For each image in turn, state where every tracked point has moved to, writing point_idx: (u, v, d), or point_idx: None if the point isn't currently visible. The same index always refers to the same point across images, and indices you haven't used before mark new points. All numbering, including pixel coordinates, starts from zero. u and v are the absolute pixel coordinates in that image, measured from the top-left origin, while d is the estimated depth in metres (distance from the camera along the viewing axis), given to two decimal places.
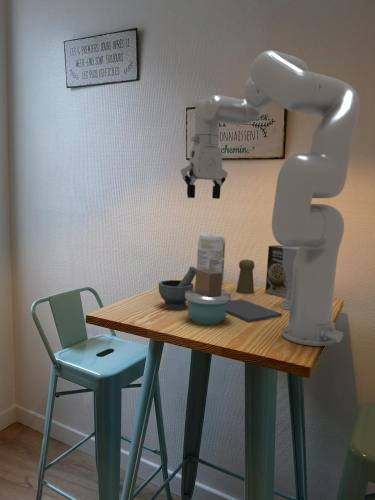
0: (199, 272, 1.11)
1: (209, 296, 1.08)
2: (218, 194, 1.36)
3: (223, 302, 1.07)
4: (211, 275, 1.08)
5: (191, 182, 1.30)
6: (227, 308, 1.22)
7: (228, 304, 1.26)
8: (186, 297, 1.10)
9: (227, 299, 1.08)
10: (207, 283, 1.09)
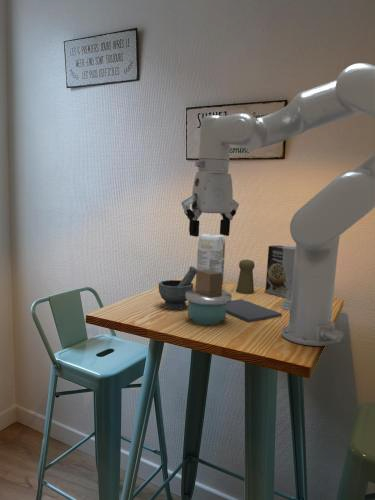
0: (199, 272, 1.11)
1: (209, 296, 1.08)
2: (227, 230, 1.11)
3: (224, 302, 1.07)
4: (211, 275, 1.08)
5: (194, 217, 1.05)
6: (227, 308, 1.22)
7: (228, 304, 1.26)
8: (186, 297, 1.10)
9: (228, 299, 1.08)
10: (207, 283, 1.08)
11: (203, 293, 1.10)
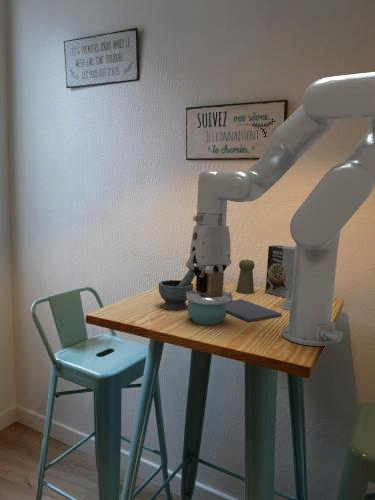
0: None
1: (210, 296, 1.08)
2: None
3: (225, 302, 1.07)
4: (212, 275, 1.07)
5: (201, 275, 1.08)
6: (227, 308, 1.22)
7: (228, 304, 1.26)
8: (187, 297, 1.09)
9: (229, 299, 1.08)
10: (208, 283, 1.08)
11: (204, 293, 1.10)
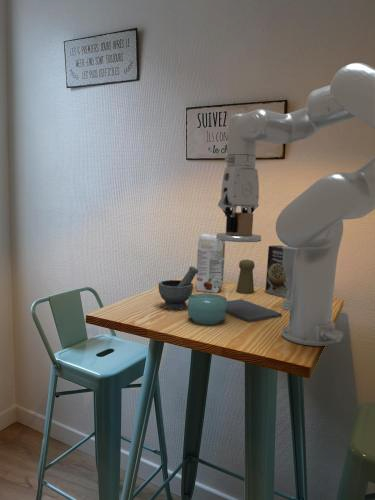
0: None
1: (241, 235, 1.12)
2: None
3: (255, 240, 1.12)
4: (243, 215, 1.12)
5: (232, 215, 1.13)
6: (227, 308, 1.22)
7: (228, 304, 1.26)
8: (219, 237, 1.14)
9: (259, 238, 1.13)
10: (239, 222, 1.13)
11: (234, 233, 1.14)
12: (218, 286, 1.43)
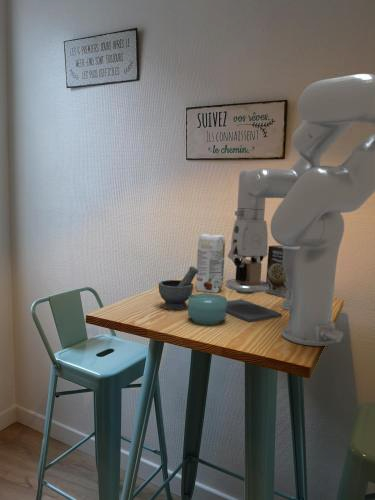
0: None
1: (250, 285, 1.18)
2: None
3: (263, 290, 1.17)
4: (252, 265, 1.17)
5: (241, 265, 1.18)
6: (227, 308, 1.22)
7: (228, 304, 1.26)
8: (228, 286, 1.19)
9: (266, 287, 1.18)
10: (247, 272, 1.18)
11: (243, 282, 1.20)
12: (218, 286, 1.43)
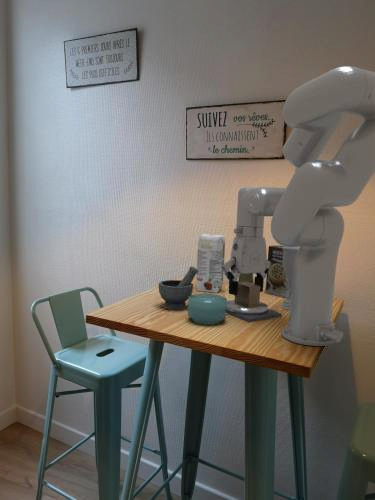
0: (239, 285, 1.21)
1: (249, 307, 1.19)
2: (261, 287, 1.23)
3: (262, 313, 1.18)
4: (251, 288, 1.18)
5: (234, 279, 1.17)
6: None
7: None
8: (227, 308, 1.20)
9: (265, 310, 1.19)
10: (246, 295, 1.19)
11: (242, 304, 1.21)
12: (218, 286, 1.43)
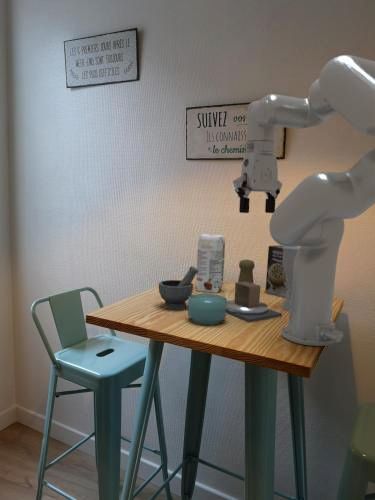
0: (239, 285, 1.21)
1: (249, 307, 1.19)
2: (273, 208, 1.20)
3: (262, 313, 1.18)
4: (251, 288, 1.18)
5: (245, 195, 1.14)
6: None
7: None
8: (227, 308, 1.20)
9: (265, 310, 1.19)
10: (246, 295, 1.19)
11: (242, 304, 1.21)
12: (218, 286, 1.43)
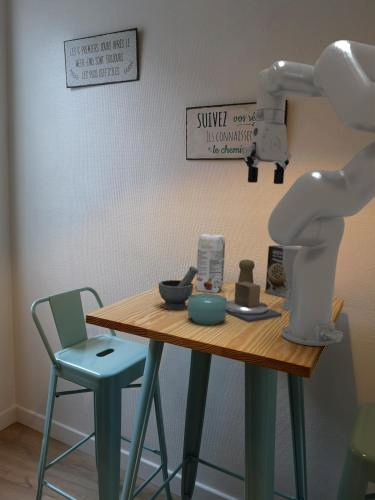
0: (239, 285, 1.21)
1: (249, 307, 1.19)
2: (281, 179, 1.19)
3: (262, 313, 1.18)
4: (251, 288, 1.18)
5: (254, 164, 1.13)
6: None
7: None
8: (227, 308, 1.20)
9: (265, 310, 1.19)
10: (246, 295, 1.19)
11: (242, 304, 1.21)
12: (218, 286, 1.43)
